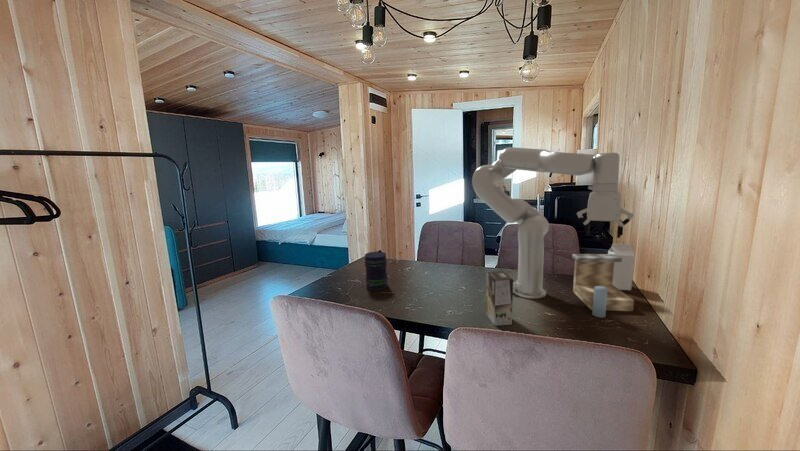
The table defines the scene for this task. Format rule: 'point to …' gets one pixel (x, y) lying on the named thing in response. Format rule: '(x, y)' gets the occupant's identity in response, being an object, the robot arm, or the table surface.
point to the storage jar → (376, 270)
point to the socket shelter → (599, 280)
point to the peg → (599, 301)
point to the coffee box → (499, 298)
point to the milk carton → (623, 266)
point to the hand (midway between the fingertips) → (602, 236)
